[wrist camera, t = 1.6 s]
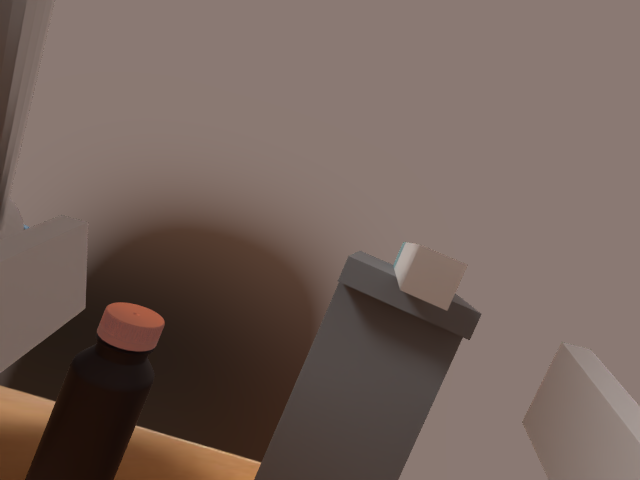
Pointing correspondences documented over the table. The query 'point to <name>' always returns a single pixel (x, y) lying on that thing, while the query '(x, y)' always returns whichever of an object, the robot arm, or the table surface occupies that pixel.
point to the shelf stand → (366, 379)
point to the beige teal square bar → (428, 274)
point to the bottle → (100, 399)
